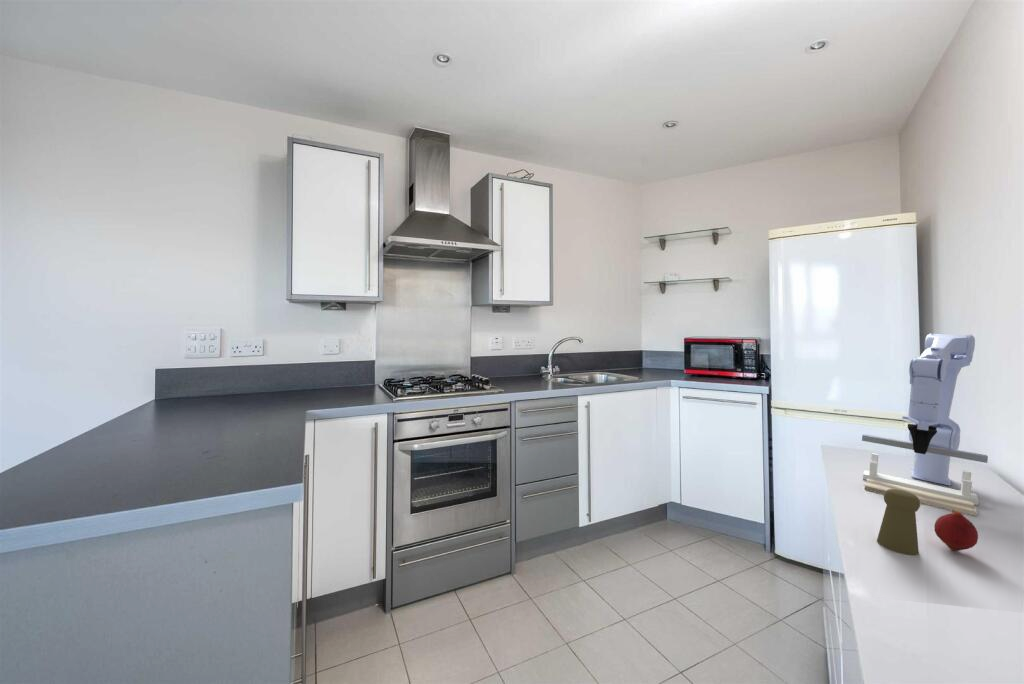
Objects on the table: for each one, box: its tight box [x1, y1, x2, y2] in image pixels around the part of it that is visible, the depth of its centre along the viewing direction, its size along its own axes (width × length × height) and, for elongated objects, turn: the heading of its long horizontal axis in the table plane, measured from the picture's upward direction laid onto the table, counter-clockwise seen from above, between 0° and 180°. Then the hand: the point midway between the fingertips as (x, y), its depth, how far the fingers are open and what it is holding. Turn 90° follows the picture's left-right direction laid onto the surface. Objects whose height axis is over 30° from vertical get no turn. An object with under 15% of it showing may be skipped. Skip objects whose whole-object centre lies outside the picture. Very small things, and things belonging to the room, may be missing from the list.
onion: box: [934, 509, 979, 552], centre depth 81 cm, size 6×6×8 cm
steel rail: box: [861, 433, 989, 464], centre depth 112 cm, size 2×24×2 cm, turn 46°
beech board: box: [864, 479, 978, 517], centre depth 107 cm, size 8×20×1 cm, turn 46°
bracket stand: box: [862, 452, 979, 506], centre depth 113 cm, size 5×22×7 cm, turn 46°
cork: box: [876, 489, 921, 556], centre depth 81 cm, size 6×6×11 cm
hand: (919, 452), depth 112 cm, fingers closed on steel rail, 2 cm apart
